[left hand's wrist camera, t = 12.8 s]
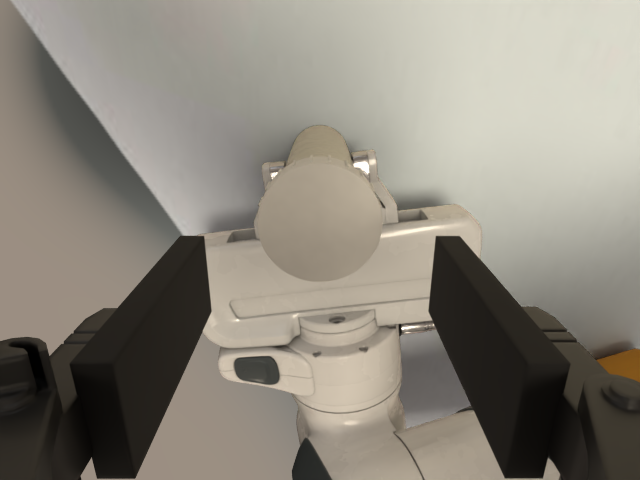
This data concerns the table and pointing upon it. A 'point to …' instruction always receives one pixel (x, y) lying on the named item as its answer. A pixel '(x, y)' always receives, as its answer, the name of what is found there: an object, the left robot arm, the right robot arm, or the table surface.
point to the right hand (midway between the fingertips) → (317, 157)
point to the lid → (319, 219)
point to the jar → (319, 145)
